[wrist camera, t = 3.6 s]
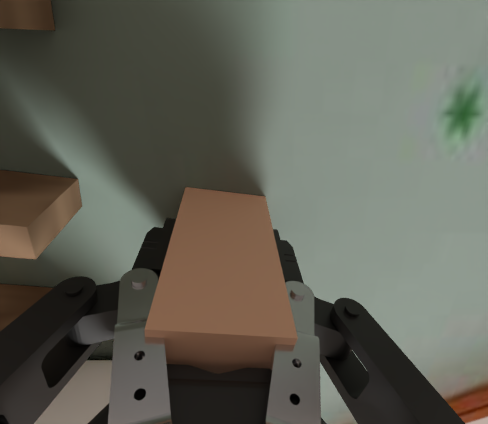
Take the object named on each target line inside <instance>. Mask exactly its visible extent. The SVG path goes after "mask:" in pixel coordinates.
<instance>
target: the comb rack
mask: <svg viewBox="0 0 488 424" xmlns="http://www.w3.org/2000/svg"><path fill="white" fill-rule="evenodd" d="M0 28H3V29H29V30H54V31H55V26H54V19H53V12H52V6H51V0H0ZM81 207H82V202H81V196H80V189H79V183H78V179H73V178H65V177H56V176H48V175H40V174H31V173H23V172H14V171H6V170H0V256H3V257H14V258H26V259H37V258H38V256H39V255H40V254H41V253H42V252H43V251H44V250H45V248H46V247H47V246H48V245H49V244H50V243H51V241H52V240H53V239H54V238H55V237H56V236H57V235H58V233H59V232H60V231H61V230H62V229H63V228H64V227H65V225H66V224H67V223H68V222H69V221H70V220H71V218H72V217H73V216H74V215H75V214H76V213H77V212H78V210H79V209H80V208H81ZM52 289H53V288H49V287H36V286H22V285H9V284H0V331H1V330H3V329H4V328H5V327H6V326H7V325H9V324H10V323H11V322H12V321H14V320H15V319H16V318H17V317H19V316H20V315H21V314H22V313H23V312H25V311H26V310H27V309H28V308H30V307H31V306H32V305H33V304H34V303H36V302H37V301H38V300H39V299H41V298H42V297H43V296H44V295H46V294H47V293H48V292H49V291H50V290H52Z"/></svg>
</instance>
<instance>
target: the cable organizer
mask: <svg viewBox="0 0 488 424" xmlns="http://www.w3.org/2000/svg"><path fill="white" fill-rule="evenodd" d="M111 372H112V360H86V361H85V363H84V364H83V365H82V366H81V367H80V369H79V370H78V371H77V372H76V373H75V375H74V376H73V377H72V378H71V379H70V381H69V382H68V383H67V384H66V386H65V387H64V388H63V389H62V390H61V392H60V393H59V394H58V395H57V396H56V398H55V399H54V400H53V401H52V402H51V404H50V405H49V406H48V407H47V409H46V410H45V411H44V412H43V413H42V415H41V416H40V417H39V418H38V419H37V421H36V422H35V423H34V424H88V423H89V422H90V421H91V420H92V419H93V418H94V417H95V416H96V415H97V414H98V413H99V412H100V411H101V410H102V409H103V408H104V407H105V406H106V405H107V404H108V403H109V401H110V386H111Z"/></svg>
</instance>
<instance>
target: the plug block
mask: <svg viewBox="0 0 488 424" xmlns="http://www.w3.org/2000/svg"><path fill="white" fill-rule="evenodd" d="M145 337H159V338H164V342H165V353H166V364H180V365H190V366H194V367H197V368H200V369H203V370H206V371H210V372H213V373H216V374H220V373H225V372H229V371H234V370H238V369H242V368H269V369H270V365H271V356H272V353H273V351H274V348H275V345H276V344H284V345H295V344H296V342H297V339H298V337H297V332H296V328H295V324H294V319H293V315H292V311H291V306H290V302H289V298H288V293H287V289H286V285H285V280H284V276H283V272H282V267H281V263H280V258H279V254H278V250H277V245H276V241H275V237H274V232H273V228H272V224H271V219H270V215H269V211H268V206H267V202H266V198H265V196H257V195H248V194H240V193H231V192H223V191H215V190H206V189H198V188H190V187H185V190H184V194H183V197H182V201H181V204H180V208H179V211H178V215H177V218H176V222H175V225H174V229H173V232H172V236H171V239H170V243H169V246H168V250H167V253H166V256H165V260H164V263H163V267H162V270H161V274H160V277H159V281H158V284H157V288H156V291H155V295H154V298H153V302H152V305H151V309H150V312H149V316H148V319H147V323H146V326H145Z"/></svg>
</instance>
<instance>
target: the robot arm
mask: <svg viewBox="0 0 488 424" xmlns="http://www.w3.org/2000/svg"><path fill="white" fill-rule="evenodd" d="M175 222H176V219H172V218H166V221H165V224H164V227H163V228H158V227H154V228H152V229H151V230H150V231H149V232H148V233H147V234H146V236H145V239H144V242H143V244H142V246H141V248H140V251H139V253H138V256H137V258H136V260H135V263H134V265H133V268H132V270H130V271H128V272H127V273H125V274H124V275H123V276H122V277H121V279H120V281H117V282H114V283H110V284H103V285H97V286H96V284H95V282H94V281H93V280H92V279H90V278H87V277H73V278H69V279H66V280H64V281H62V282H61V283H59V284H58V285H57V286H55V287H54V288H53V289H52V290H50V291H49V292H48V293H47V294H46V295H44V296H43V297H42V298H41V299H39V300H38V301H37V302H36V303H34V304H33V305H32V306H31V307H30V308H28V309H27V310H26V311H25V312H23V313H22V314H21V315H20V316H19V317H17V318H16V319H15V320H14V321H12V322H11V323H10V324H9V325H7V326H6V327H5V328H4V329H3V330H1V331H0V424H34V423H35V422H36V421H37V419H38V418H39V417H40V416H41V415H42V413H43V412H44V411H45V410H46V409H47V407H48V406H49V405H50V404H51V402H52V401H53V400H54V399H55V398H56V396H57V395H58V394H59V393H60V392H61V390H62V389H63V388H64V387H65V386H66V384H67V383H68V382H69V381H70V379H71V378H72V377H73V376H74V375H75V373H76V372H77V371H78V370H79V369H80V367H81V366H82V365H83V364H84V363H85V361H86V360H87V359H88V358H89V356H90V355H91V354H92V353H93V352H94V350H95V349H96V348H97V347H98V346H99V344H100V343H101V342H102V341H106V340H110V339H114V344H113V358H112V372H111V386H110V401H109V403H108V404H107V405H106V406H105V407H104V408H103V409H102V410H101V411H100V412H99V413H98V414H97V415H96V416H95V417H94V418H93V419H92V420H91V421H90V422H89V423H88V424H326V423H325V422H324V420H323V419H322V418H321V402H320V362H321V364H322V366H323V367H324V369H325V371H326V372H327V374H328V375H329V377H330V379H331V380H332V382H333V384H334V385H335V387H336V389H337V390H338V392H339V394H340V395H341V397H342V399H343V400H344V402H345V403H346V405H347V407H348V408H349V410H350V412H351V413H352V415H353V417H354V418H355V420H356V422H357V423H358V424H465V423H464V422H463V421H462V419H461V418H460V417H459V416H458V415H457V414H456V413H455V411H454V410H453V409H452V408H451V407H450V406H449V405H448V403H447V402H446V401H445V400H444V399H443V398H442V396H441V395H440V394H439V393H438V392H437V391H436V390H435V388H434V387H433V386H432V385H431V384H430V383H429V382H428V380H427V379H426V378H425V377H424V376H423V375H422V374H421V372H420V371H419V370H418V369H417V368H416V367H415V365H414V364H413V363H412V362H411V361H410V360H409V359H408V357H407V356H406V355H405V354H404V353H403V352H402V351H401V349H400V348H399V347H398V346H397V345H396V344H395V343H394V341H393V340H392V339H391V338H390V337H389V336H388V334H387V333H386V332H385V331H384V330H383V329H382V328H381V326H380V325H379V324H378V323H377V322H376V321H375V320H374V318H373V317H372V316H371V315H370V314H369V313H368V311H367V310H366V309H365V308H364V307H363V306H362V305H361V304H359V303H358V302H356V301H354V300H352V299H349V298H340V299H338V300H336V301H335V303H334V304H332V303H329V302H326V301H323V300H320V299H318V298H316V297H314V294H313V292H312V290H311V289H310V288H309V287H308V286H307V285H305V284H304V283H303V280H302V276H301V273H300V270H299V266H298V263H297V260H296V257H295V253H294V250H293V247H292V246H291V245H290V244H289V243H288V242H287V241H285V240H280V237H279V233H278V230H274V229H273V232H274V237H275V241H276V245H277V250H278V254H279V258H280V263H281V267H282V272H283V276H284V280H285V285H286V289H287V293H288V298H289V302H290V306H291V311H292V315H293V319H294V324H295V328H296V332H297V337H298V339H297V342H296V344H295V345H284V344H276V345H275V348H274V351H273V353H272V356H271V365H270V369H269V368H242V369H238V370H234V371H229V372H225V373H220V374H216V373H213V372H210V371H206V370H203V369H200V368H197V367H194V366H190V365H180V364H166V353H165V342H164V338H159V337H145V326H146V323H147V319H148V316H149V312H150V309H151V305H152V302H153V298H154V295H155V291H156V288H157V284H158V281H159V277H160V274H161V270H162V267H163V263H164V260H165V256H166V253H167V250H168V246H169V243H170V239H171V236H172V232H173V229H174V225H175ZM352 350H353V351H354V353H355V354H356V355H357V357H358V358H359V359H358V358H357V357H356V355H355V354H354V353H353V351H352ZM359 360H360V361H361V362H362V364H363V365H364V366H365V368H366V369H365V368H364V366H363V365H362V364H361V362H360V361H359ZM366 370H367V371H368V372H367V371H366Z"/></svg>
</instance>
